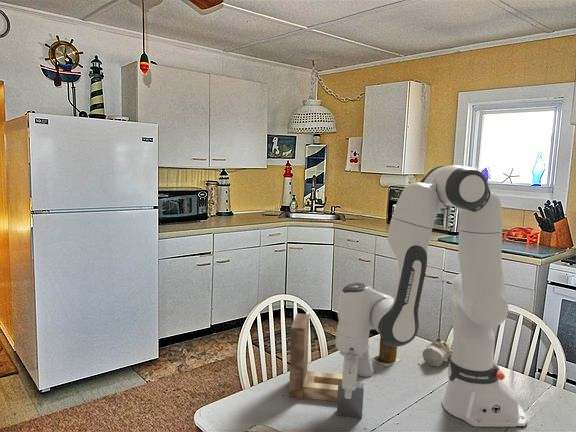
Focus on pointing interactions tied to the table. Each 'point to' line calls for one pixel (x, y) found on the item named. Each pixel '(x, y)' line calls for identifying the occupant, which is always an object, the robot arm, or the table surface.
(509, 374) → the table surface
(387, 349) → the condiment
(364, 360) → the flask
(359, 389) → the brushed steel bar
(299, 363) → the tan slotted wooden fixture
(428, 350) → the ceramic sculpture
